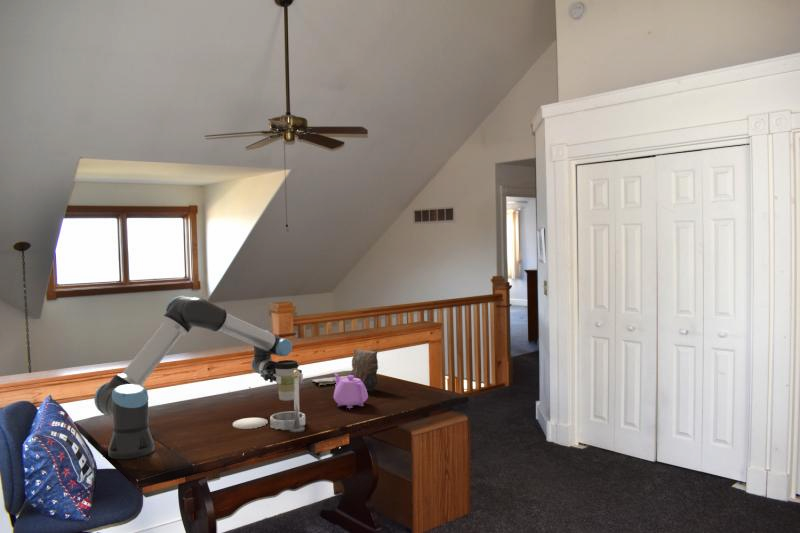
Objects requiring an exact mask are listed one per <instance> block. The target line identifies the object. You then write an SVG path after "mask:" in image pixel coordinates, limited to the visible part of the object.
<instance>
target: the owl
mask: <svg viewBox="0 0 800 533" xmlns="http://www.w3.org/2000/svg"><path fill="white" fill-rule="evenodd" d="M353 352H354V354H353V357H352V358H351V367H352V369H351V373H350V375H353V376H354V378H358V379H360V380H361V381H362V382H363V384H364V385H365V387H366V389H367V391H370V392H374V391H373V390H375V391H376V386H378V375H377V373H378V369H379V362H378V361H379V360H378V351H374V350H372V349H367V350H365V349H364V350H361V349H354V350H353Z"/></svg>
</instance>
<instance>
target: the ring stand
mask: <svg viewBox="0 0 800 533" xmlns="http://www.w3.org/2000/svg"><path fill="white" fill-rule="evenodd" d="M292 376H293V377H294V399H293V409H294V410H293V411H280V412H276V413H272V415H270V417H269V423H270V424H269V425H270V428H271V429H273V428H274V429H273V430H278V429H281V430H282V431H286V430H287V431H289V432H290V433H293V434H296V433H298V432H299V433H303V432H305V426H306V414H305V413H303V412H301V411H300V384H299V383H300V380H299V377H300V372H299V371H298V370H295V371H293V373H292ZM281 430H280V431H281Z"/></svg>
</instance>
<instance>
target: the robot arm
mask: <svg viewBox="0 0 800 533" xmlns="http://www.w3.org/2000/svg"><path fill="white" fill-rule="evenodd" d="M161 318H162V323H161V325H160V326H159V327H158V328H157V329H156V331H155V332H154V333H153V335H152V336H151V337H150V338H149V340H148V341H147V342H146V343H145V345H143V347H142V348H141V349H140V351H139V352H138V353H137V354H136V355H135V356H134V358H133V359H132V360H131V362H130V363H129V364H128V366H126V368H125V369H124V370H123V372H121V373H116V374H114V376H112V379H111V380H110V381H109V382H108V381H107V382H106V383H103V384H102V385H101V386H99V387H98V388H97V390H96V391H95V394H94V405H95V407H96V409H97V410H98V411H99V412H100V413H101V414H103V415H104V416H106V417H107V416H108V417H110V418H112V436H111V440H110V442H109V446H108V450H107V451H108V452H107V453H108V454H107V455H108V457H109V458H111V459H115V460H130V459H131V460H132V459H137V458H141V457H145V456H148V455H150V454H151V453H153V452H154V451H155V441H154V439H153V437H152V433H151V431H150V426H149V395H148V393H149V392H148V390H147V387H145V386H144V385H143V384H144V383H145V382H146V381H147V379H148V378H149V377H150V376H151V375H152V373H153V372H154V370H155V369H156V368H158V365H159V364H160V363H161V362H162V360H163V359H164V357H166V355H167V354H168V352H170V350H171V349H172V348H173V346H175V344H176V343H177V341H178V340H179V339H180V337H181V336H186V335H188V334H189V332H191V330H192V328H193V327H194V328H201V329H205V330H209V331H212V332H221V333H224V334H226V335H228V336H231V337H233V338H235V339H237V340H240V341H242V342H244V343H247V344H249V345H252V346H253V358H252V360H251V363H250V366H251V369H252V370H253V371H254V372H255V373H257V374H259V375H260V377H261V378H263V380H264V381H265V382H268V381H269V383H273V382H275V383H276V384H277V383H279V384H281V377H280V376H278V375H276V369H275V368H274V367H275V364H276V362H277V361H275V360H272V355H273V356H274V355H275V356H278V357H287V356H289V355H290V354H291V352H292V349H293V343H292V342H291V341H290V339H287V338H284V337H280V336H278V335H275V334H274V333H272V332H271V331H270V330H267V329H266V330H265V329H263V328H260V327H257V325H254V324H251V323H249V322H248V321H245V320H242V319H240V318H238V317H236V316H234V315H232V314H230V313H228V311H227V310H226V309H225V308H223V307H221V306H219V305H217V304H215V303H213V302H211V301H210V300H207V299H206V298H203V297H194V296H190V295H179V296H177V297H173V298H172V299H171V300H170V301H169V302H168V303H167V305H166V307H165V314H164V315H163V316H162V317H161ZM297 370H298V371H299V372H300V377H299V381H304V374H303V371H302V369H299V368H298V369H297Z"/></svg>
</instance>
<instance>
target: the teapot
mask: <svg viewBox="0 0 800 533" xmlns="http://www.w3.org/2000/svg"><path fill="white" fill-rule="evenodd" d="M333 375H334V377H336V384H334V385H335V386H334V387H335V388H334V391H333V399H334V400H333V401H335V403H337V407H343V406H346V409H347V408H349V409H348V410H351V409H350V408H353V409H354V406H358V407H364V406H365V405H364V403H366V401H367V400H368V398H369V394H368V393H369V392H367V389H366V387H365V385H364V384H363V382H362V381H361V380H360V379H358V378H354V376H353V375H351V374H349V375H346V376H347V378H344V379H341V380H340V375H339V374H338V373H336V372H333Z"/></svg>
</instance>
